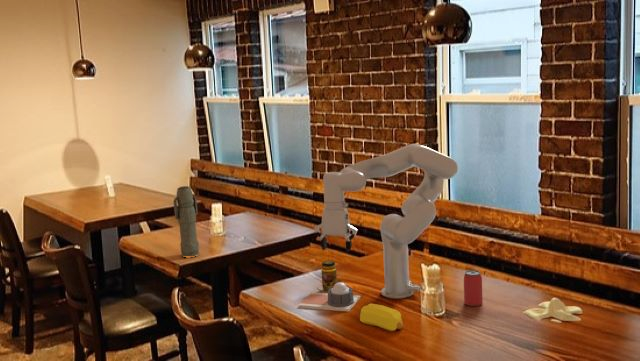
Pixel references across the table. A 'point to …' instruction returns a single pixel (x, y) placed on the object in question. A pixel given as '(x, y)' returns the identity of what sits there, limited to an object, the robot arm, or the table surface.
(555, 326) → the table surface
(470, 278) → the beer can
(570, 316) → the cloth
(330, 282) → the condiment
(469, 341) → the table surface
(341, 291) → the dome
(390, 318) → the faceted yellow knobbed lump
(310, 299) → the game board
